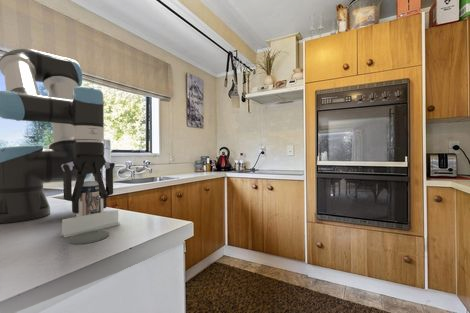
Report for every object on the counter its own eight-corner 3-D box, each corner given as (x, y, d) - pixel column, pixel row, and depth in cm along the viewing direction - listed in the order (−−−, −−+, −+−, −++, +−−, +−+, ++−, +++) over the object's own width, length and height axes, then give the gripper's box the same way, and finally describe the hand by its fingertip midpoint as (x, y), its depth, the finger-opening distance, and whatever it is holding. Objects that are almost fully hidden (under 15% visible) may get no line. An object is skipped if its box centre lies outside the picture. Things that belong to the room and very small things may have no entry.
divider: (61, 235, 58) (60, 218, 58) (114, 222, 68) (114, 209, 68) (65, 237, 56) (64, 220, 56) (119, 224, 66) (119, 210, 66)
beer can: (90, 225, 65) (90, 182, 65) (76, 224, 66) (75, 182, 66) (103, 220, 70) (102, 180, 70) (89, 220, 71) (89, 180, 70)
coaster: (63, 239, 55) (63, 237, 55) (100, 230, 61) (100, 228, 61) (76, 247, 50) (75, 245, 50) (114, 236, 56) (114, 234, 56)
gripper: (55, 139, 58) (56, 232, 58) (125, 142, 72) (126, 217, 72) (47, 141, 63) (48, 227, 63) (114, 143, 77) (115, 213, 77)
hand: (90, 221), depth 68 cm, fingers closed on beer can, 5 cm apart
